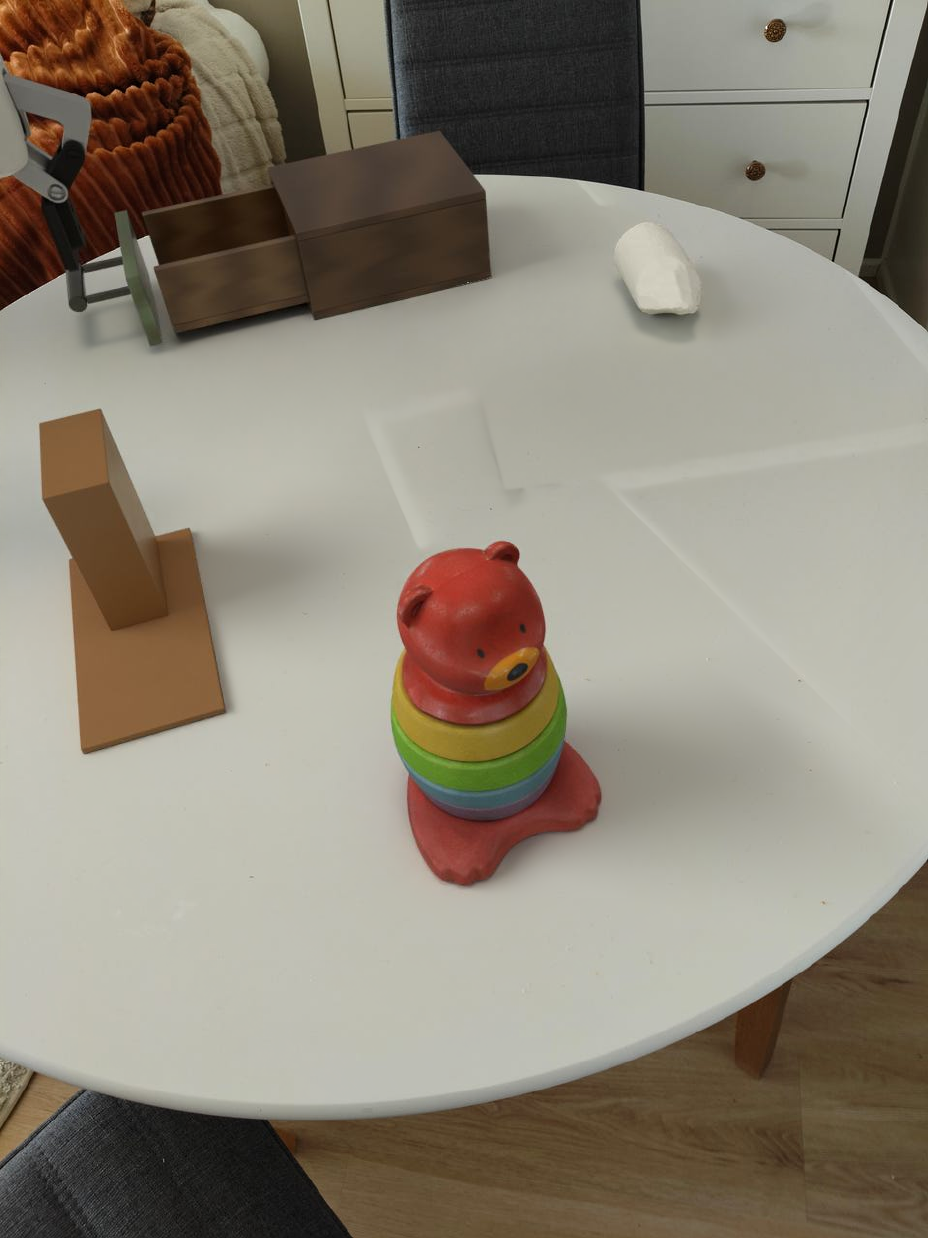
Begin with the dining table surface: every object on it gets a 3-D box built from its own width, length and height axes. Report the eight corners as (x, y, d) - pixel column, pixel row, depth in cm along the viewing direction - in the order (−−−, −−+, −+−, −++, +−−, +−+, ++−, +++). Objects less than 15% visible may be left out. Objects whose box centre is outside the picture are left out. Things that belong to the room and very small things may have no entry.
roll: (645, 350, 86) (650, 291, 82) (611, 280, 94) (613, 223, 90) (713, 340, 86) (721, 280, 82) (673, 271, 94) (678, 214, 90)
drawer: (86, 361, 90) (57, 293, 85) (79, 291, 99) (52, 225, 94) (324, 305, 93) (310, 236, 88) (297, 241, 102) (283, 175, 97)
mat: (71, 563, 73) (68, 559, 73) (191, 531, 75) (189, 527, 74) (83, 754, 62) (80, 749, 61) (226, 712, 63) (224, 707, 63)
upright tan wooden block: (103, 555, 73) (38, 422, 64) (157, 540, 74) (100, 407, 65) (110, 631, 68) (41, 498, 59) (169, 615, 68) (109, 481, 59)
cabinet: (314, 320, 93) (295, 232, 87) (285, 250, 103) (267, 166, 96) (491, 277, 96) (486, 190, 90) (447, 213, 105) (439, 130, 99)
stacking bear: (447, 901, 53) (406, 700, 40) (369, 765, 59) (312, 552, 46) (616, 811, 56) (630, 595, 43) (525, 690, 62) (513, 469, 49)
